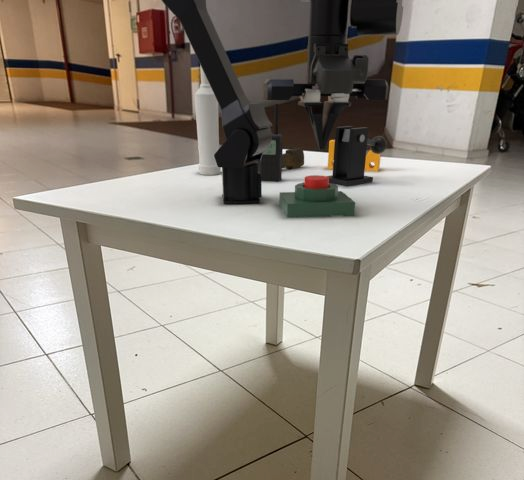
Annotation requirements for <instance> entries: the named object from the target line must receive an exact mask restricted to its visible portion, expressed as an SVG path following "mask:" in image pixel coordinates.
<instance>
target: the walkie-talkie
mask: <svg viewBox="0 0 524 480" xmlns="http://www.w3.org/2000/svg"><path fill="white" fill-rule="evenodd" d="M279 107H280V105H279V103H274V119H273V121H274V124H273V128H274V129H273V133H272V139H271V143H270V146H269V147H268V149H267V150H266V151H265V152H263V155H262V158H261V161H260V162H259V172H260V173H261V175H262V182H270V183H272V182H273V183H278V182H281V181H282V173H283V172H282V171H283V168H282V154H284V153H283V152H284V151H283V150H284V148H283V147H284V145H283V144H284V143H283V135H282V133H279Z"/></svg>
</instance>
